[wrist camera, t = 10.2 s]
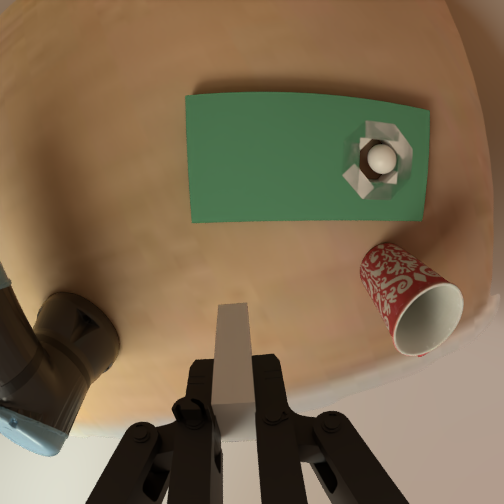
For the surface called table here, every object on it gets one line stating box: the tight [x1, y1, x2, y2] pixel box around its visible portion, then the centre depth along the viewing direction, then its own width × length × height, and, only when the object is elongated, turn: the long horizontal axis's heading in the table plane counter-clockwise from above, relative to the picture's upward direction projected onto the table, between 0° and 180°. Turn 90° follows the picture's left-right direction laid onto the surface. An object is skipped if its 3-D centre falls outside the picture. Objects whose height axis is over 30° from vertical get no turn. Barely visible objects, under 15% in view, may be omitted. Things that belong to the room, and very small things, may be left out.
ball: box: [367, 144, 396, 174], centre depth 30 cm, size 4×4×4 cm
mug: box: [360, 243, 464, 357], centre depth 32 cm, size 13×9×14 cm
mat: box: [185, 92, 430, 223], centre depth 31 cm, size 28×14×2 cm, turn 91°
